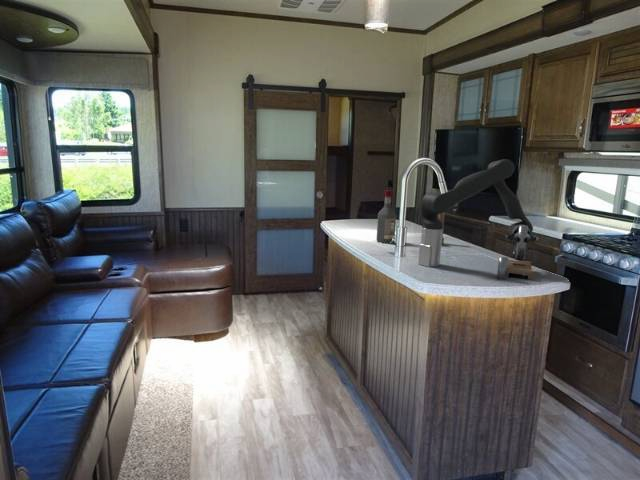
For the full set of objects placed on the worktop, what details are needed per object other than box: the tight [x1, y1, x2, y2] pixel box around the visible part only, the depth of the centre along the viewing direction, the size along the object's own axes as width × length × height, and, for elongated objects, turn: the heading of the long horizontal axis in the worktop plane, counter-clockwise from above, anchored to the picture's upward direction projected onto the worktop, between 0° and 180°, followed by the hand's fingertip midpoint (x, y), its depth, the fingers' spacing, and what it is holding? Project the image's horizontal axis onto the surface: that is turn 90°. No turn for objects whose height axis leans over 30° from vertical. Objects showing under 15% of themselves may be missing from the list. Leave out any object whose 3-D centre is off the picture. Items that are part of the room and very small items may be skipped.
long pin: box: [514, 225, 528, 261], centre depth 194 cm, size 4×4×15 cm
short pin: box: [496, 256, 509, 281], centre depth 187 cm, size 4×4×9 cm
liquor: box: [376, 189, 397, 244], centre depth 258 cm, size 9×9×30 cm
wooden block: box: [437, 212, 446, 245], centre depth 258 cm, size 4×11×18 cm, turn 113°
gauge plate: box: [506, 259, 533, 281], centre depth 197 cm, size 18×10×4 cm, turn 157°
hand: (522, 240), depth 192 cm, fingers closed on long pin, 3 cm apart
